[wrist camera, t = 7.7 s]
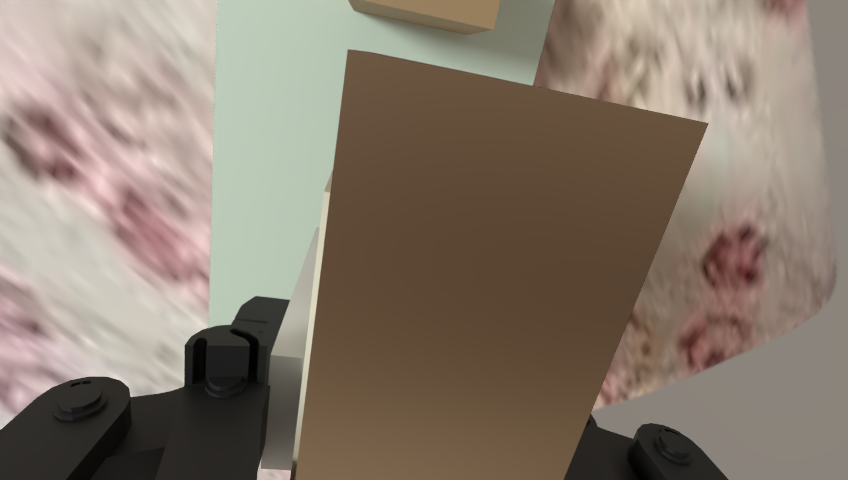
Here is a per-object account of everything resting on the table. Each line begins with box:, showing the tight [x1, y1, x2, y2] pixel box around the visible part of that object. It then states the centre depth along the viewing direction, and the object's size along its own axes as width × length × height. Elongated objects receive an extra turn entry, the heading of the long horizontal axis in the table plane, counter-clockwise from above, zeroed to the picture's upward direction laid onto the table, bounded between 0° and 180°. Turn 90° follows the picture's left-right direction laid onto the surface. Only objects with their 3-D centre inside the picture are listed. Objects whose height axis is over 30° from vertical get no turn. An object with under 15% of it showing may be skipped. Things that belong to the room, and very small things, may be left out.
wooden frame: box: [290, 49, 708, 480], centre depth 11 cm, size 13×3×10 cm, turn 169°
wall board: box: [208, 0, 555, 328], centre depth 21 cm, size 24×14×7 cm, turn 169°
